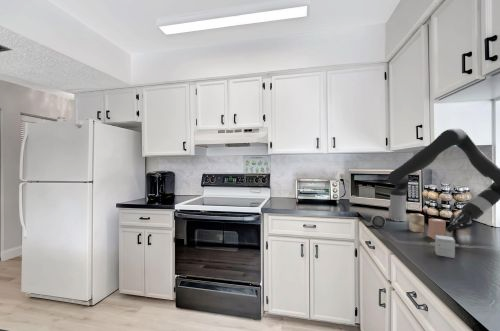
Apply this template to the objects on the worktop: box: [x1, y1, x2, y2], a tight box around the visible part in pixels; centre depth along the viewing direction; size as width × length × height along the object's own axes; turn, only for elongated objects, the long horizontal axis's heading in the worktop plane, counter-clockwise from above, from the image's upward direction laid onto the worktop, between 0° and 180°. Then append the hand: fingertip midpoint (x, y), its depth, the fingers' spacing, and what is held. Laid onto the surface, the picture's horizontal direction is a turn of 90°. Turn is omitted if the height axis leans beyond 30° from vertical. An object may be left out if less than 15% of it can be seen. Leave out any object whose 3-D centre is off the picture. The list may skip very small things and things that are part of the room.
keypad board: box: [426, 241, 460, 247], centre depth 130 cm, size 26×12×1 cm, turn 170°
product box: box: [434, 235, 456, 259], centre depth 106 cm, size 6×6×7 cm
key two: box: [427, 218, 447, 240], centre depth 124 cm, size 5×5×9 cm
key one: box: [408, 213, 425, 233], centre depth 137 cm, size 5×5×9 cm
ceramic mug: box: [365, 213, 387, 229], centre depth 151 cm, size 11×8×8 cm
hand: (447, 231), depth 123 cm, fingers closed
